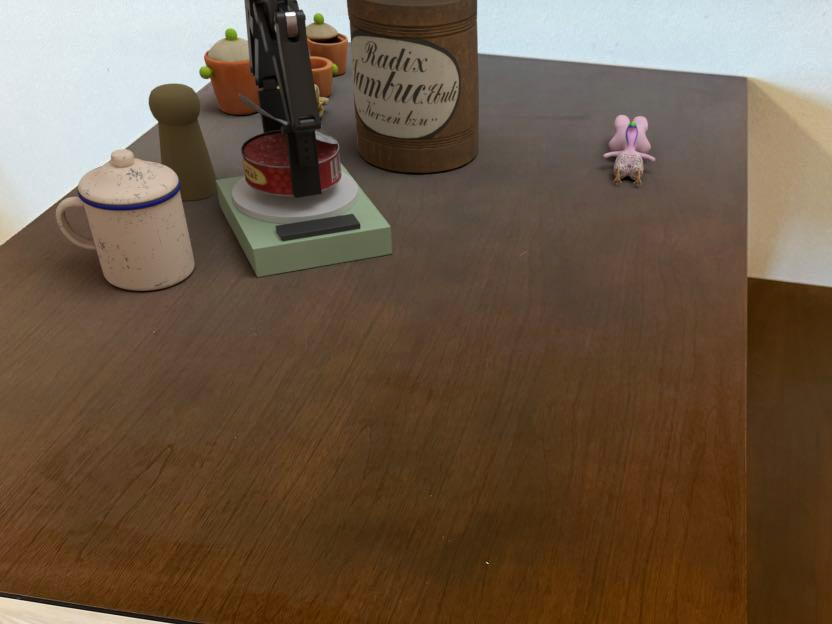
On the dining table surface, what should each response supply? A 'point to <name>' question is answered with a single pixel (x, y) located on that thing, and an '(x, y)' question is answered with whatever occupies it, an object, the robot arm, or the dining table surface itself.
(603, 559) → the dining table surface
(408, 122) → the wooden container
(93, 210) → the teacup with lid
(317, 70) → the toy tea set
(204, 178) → the pepper mill
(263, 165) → the canned food
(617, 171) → the pink plush toy
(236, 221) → the kitchen scale
